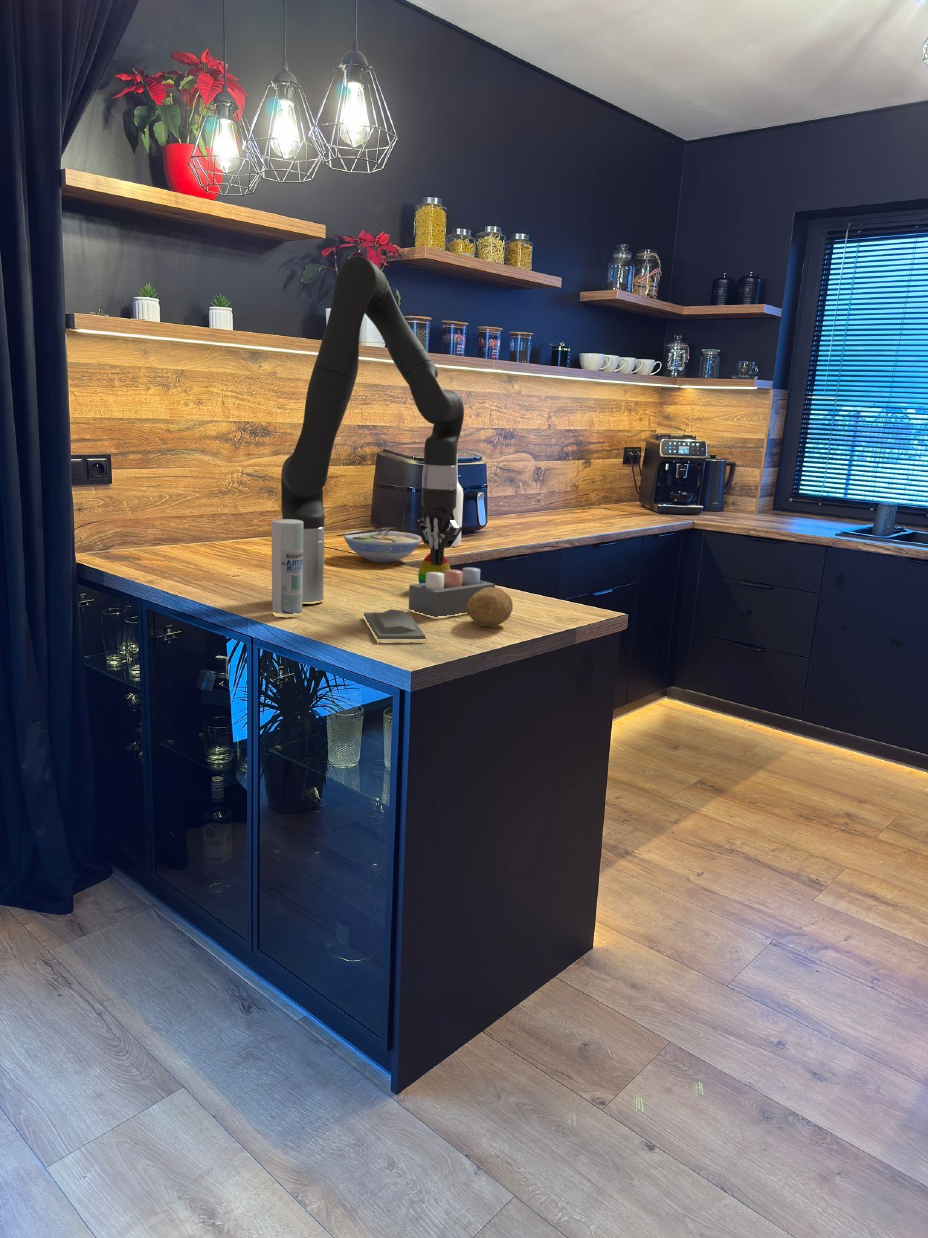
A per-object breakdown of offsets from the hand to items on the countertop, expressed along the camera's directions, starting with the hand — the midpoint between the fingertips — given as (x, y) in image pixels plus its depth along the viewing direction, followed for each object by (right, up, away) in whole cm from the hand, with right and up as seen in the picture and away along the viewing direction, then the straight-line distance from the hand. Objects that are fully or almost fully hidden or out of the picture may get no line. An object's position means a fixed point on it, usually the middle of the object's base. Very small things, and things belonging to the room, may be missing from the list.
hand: (436, 565), depth 193 cm
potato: (+11, -13, -5) cm, 18 cm away
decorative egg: (-1, -5, +25) cm, 26 cm away
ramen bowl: (-18, +5, +63) cm, 66 cm away
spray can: (-32, -11, -6) cm, 34 cm away
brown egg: (+3, -7, +5) cm, 9 cm away
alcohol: (0, +12, +97) cm, 98 cm away
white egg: (-1, -8, +1) cm, 8 cm away
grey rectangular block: (+3, -10, +6) cm, 12 cm away
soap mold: (-8, -15, -14) cm, 22 cm away
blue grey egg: (+7, -6, +9) cm, 13 cm away
